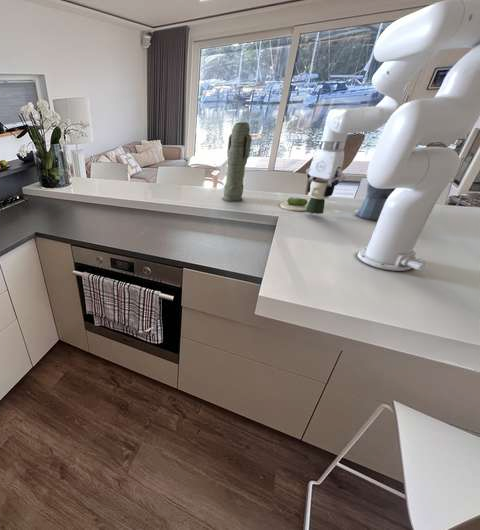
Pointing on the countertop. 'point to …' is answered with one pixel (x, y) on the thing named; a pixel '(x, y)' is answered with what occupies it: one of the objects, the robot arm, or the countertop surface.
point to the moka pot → (374, 202)
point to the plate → (293, 206)
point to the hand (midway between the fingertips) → (319, 193)
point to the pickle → (297, 201)
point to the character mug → (317, 196)
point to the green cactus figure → (237, 161)
